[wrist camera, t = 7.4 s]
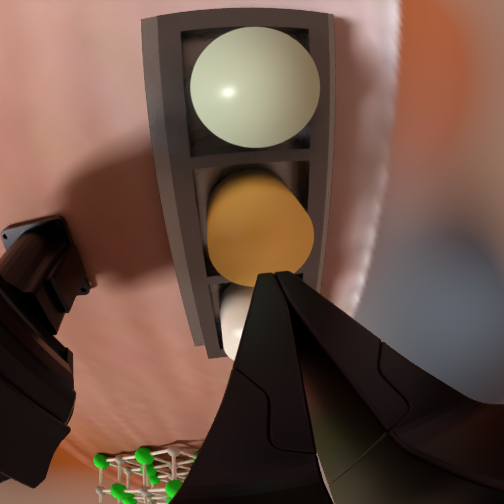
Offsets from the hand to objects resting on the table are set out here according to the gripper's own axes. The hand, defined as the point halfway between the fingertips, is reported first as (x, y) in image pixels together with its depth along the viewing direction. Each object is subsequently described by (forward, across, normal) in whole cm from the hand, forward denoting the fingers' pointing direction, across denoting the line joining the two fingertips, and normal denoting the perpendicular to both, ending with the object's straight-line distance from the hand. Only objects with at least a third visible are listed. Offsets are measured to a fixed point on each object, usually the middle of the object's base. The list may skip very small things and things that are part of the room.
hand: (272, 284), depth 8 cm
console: (+11, -1, +2) cm, 11 cm away
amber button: (+9, -1, +2) cm, 9 cm away
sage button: (+9, 0, -5) cm, 10 cm away
